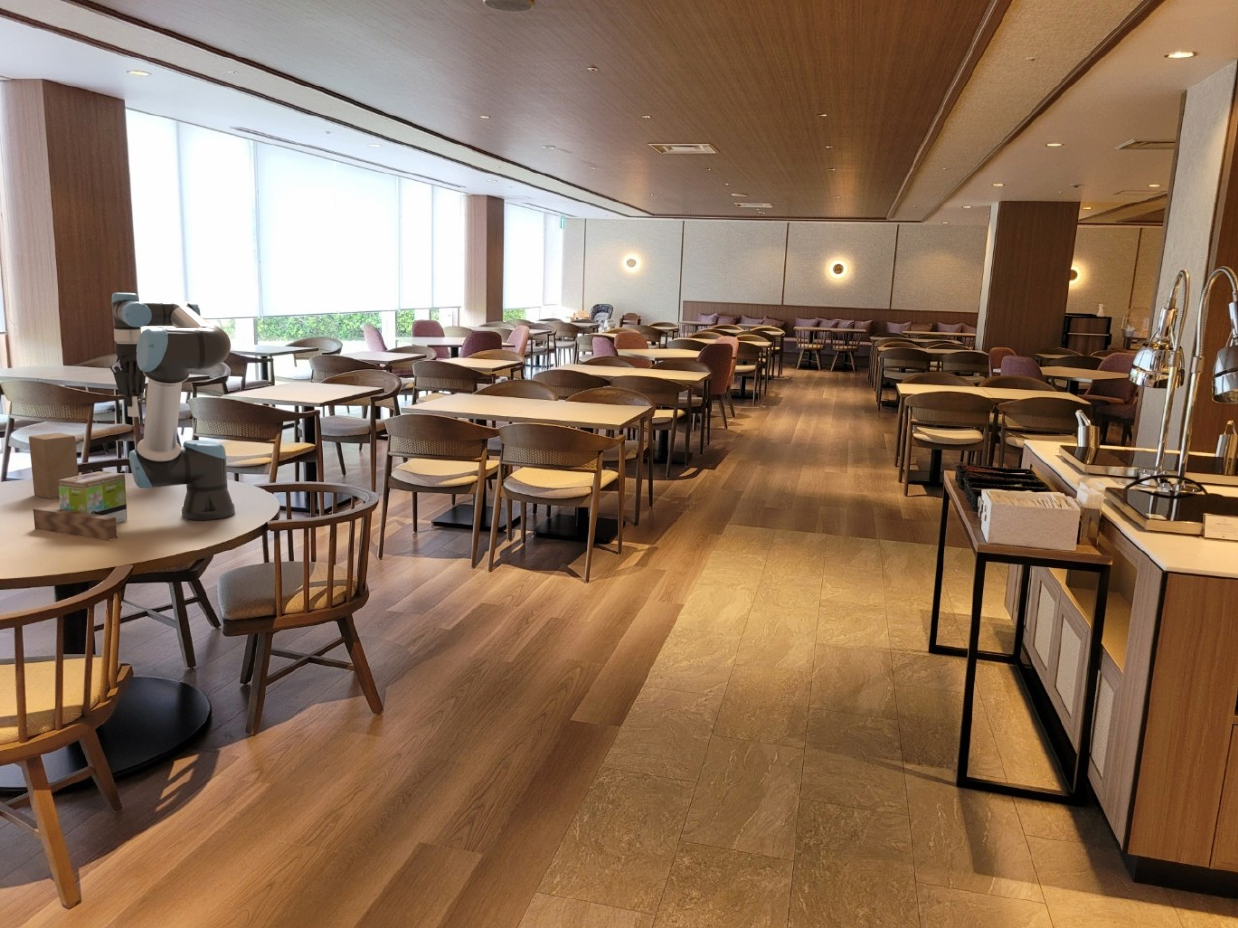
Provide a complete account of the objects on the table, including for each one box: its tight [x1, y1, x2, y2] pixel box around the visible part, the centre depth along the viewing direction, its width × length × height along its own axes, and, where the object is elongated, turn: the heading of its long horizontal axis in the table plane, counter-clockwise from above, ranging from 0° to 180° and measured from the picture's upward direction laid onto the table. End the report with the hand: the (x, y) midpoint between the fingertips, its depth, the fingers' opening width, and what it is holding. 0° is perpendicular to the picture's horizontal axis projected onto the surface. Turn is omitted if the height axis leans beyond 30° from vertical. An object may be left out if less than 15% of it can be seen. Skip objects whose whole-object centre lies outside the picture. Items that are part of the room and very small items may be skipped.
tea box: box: [58, 470, 128, 524], centre depth 266 cm, size 15×10×15 cm, turn 166°
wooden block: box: [28, 432, 80, 500], centre depth 300 cm, size 10×10×20 cm
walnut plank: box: [32, 506, 118, 541], centre depth 257 cm, size 28×3×6 cm, turn 70°
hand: (133, 416), depth 289 cm, fingers closed
